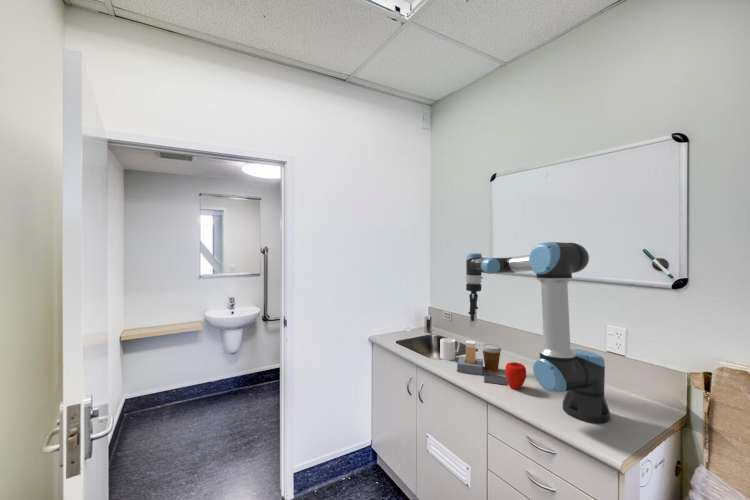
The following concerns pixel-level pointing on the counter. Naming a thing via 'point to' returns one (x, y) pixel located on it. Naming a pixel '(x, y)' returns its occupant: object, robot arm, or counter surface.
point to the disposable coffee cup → (491, 356)
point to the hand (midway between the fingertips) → (473, 324)
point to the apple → (515, 374)
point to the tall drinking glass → (470, 351)
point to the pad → (495, 379)
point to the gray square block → (470, 366)
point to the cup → (448, 348)
